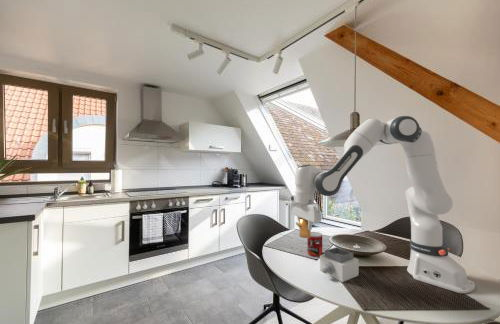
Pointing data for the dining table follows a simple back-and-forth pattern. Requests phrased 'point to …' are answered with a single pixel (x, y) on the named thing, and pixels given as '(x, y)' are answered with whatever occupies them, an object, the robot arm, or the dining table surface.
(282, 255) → the dining table surface
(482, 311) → the dining table surface
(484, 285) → the dining table surface
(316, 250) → the canned food
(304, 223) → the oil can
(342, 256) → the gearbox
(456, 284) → the robot arm
